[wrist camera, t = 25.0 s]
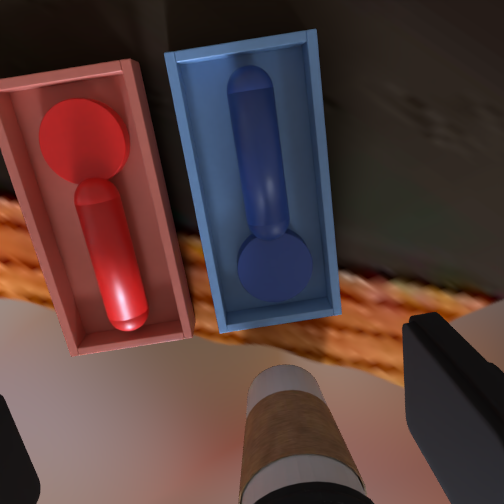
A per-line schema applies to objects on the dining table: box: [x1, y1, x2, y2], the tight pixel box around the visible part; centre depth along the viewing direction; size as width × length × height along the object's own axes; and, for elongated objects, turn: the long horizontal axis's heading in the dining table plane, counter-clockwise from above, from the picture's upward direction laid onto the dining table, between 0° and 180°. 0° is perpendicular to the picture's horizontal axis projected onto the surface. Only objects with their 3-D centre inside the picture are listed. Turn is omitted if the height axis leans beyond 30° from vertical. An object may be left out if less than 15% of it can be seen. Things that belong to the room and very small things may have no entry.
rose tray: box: [0, 58, 195, 357], centre depth 28 cm, size 9×18×2 cm, turn 8°
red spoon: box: [39, 98, 149, 331], centre depth 28 cm, size 16×5×3 cm, turn 8°
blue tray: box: [164, 29, 342, 333], centre depth 28 cm, size 9×18×2 cm, turn 8°
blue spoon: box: [227, 65, 313, 302], centre depth 28 cm, size 16×5×3 cm, turn 8°
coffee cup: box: [238, 365, 374, 504], centre depth 28 cm, size 8×8×15 cm
